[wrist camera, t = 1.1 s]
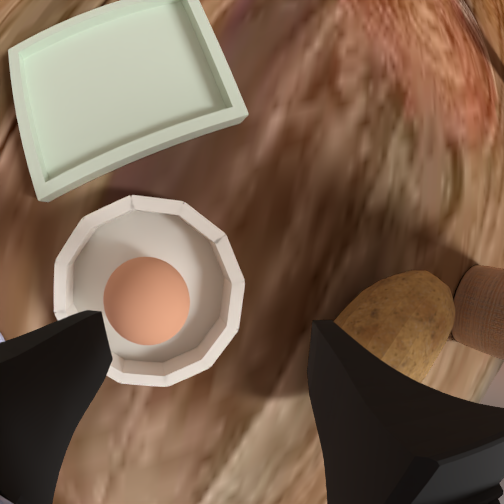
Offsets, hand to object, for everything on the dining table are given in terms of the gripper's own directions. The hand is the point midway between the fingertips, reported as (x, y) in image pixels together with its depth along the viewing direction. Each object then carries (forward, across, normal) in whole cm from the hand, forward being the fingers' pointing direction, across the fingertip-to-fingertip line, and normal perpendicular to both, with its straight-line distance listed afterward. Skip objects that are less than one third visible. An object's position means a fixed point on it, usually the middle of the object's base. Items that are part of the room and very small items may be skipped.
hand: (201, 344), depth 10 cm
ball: (+9, +5, +2) cm, 11 cm away
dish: (+9, +6, +2) cm, 11 cm away
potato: (+14, -10, +8) cm, 19 cm away
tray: (+11, +8, -12) cm, 18 cm away
